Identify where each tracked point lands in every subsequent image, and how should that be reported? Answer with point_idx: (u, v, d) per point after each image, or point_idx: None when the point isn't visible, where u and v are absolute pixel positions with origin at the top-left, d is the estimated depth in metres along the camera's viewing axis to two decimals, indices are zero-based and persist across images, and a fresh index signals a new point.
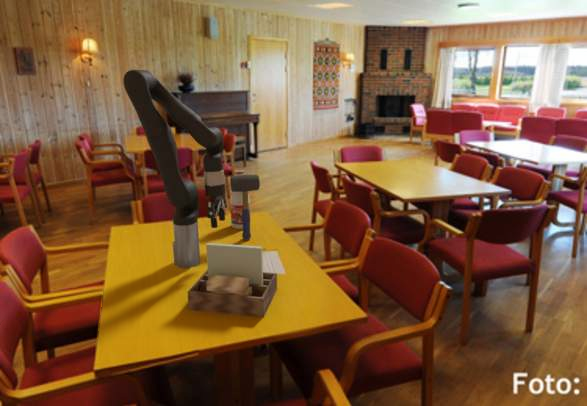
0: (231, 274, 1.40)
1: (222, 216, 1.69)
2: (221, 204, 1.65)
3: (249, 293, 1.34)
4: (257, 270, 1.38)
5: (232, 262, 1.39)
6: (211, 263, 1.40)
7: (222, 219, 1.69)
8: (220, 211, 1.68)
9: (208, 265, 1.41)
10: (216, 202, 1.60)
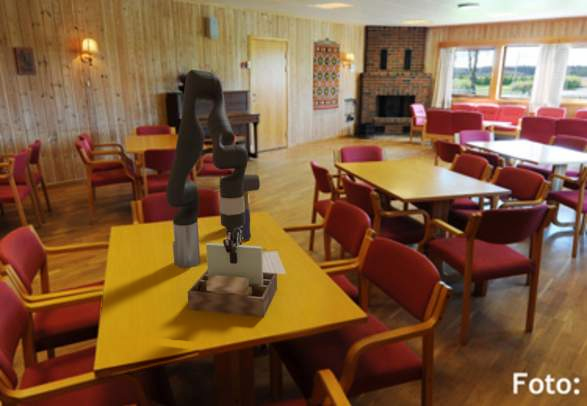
0: (231, 274, 1.40)
1: None
2: (237, 237, 1.38)
3: (249, 293, 1.34)
4: (257, 270, 1.38)
5: None
6: (211, 263, 1.40)
7: None
8: None
9: (208, 265, 1.41)
10: (234, 237, 1.34)
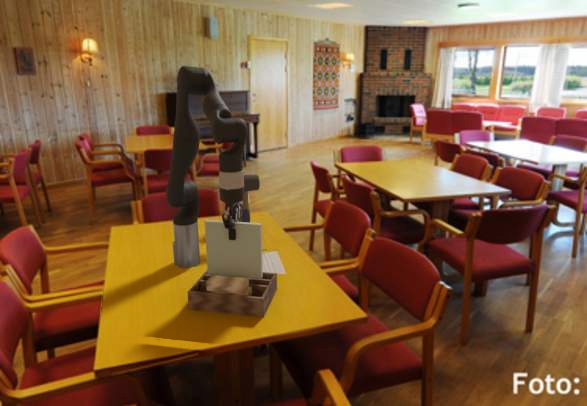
0: (230, 251, 1.38)
1: None
2: (236, 213, 1.36)
3: (249, 293, 1.34)
4: (256, 247, 1.36)
5: None
6: (210, 240, 1.38)
7: None
8: None
9: (206, 242, 1.39)
10: (233, 212, 1.32)
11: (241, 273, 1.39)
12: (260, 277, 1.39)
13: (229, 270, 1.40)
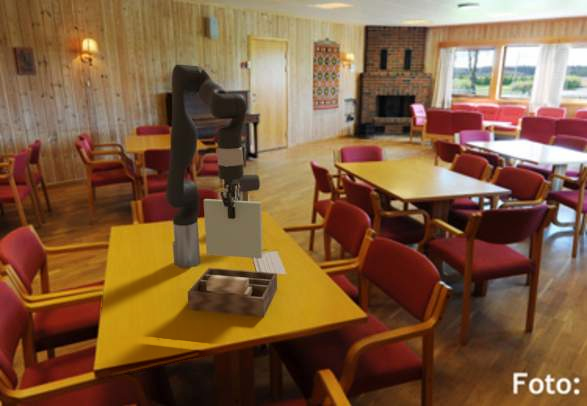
0: (229, 231, 1.36)
1: None
2: (236, 191, 1.34)
3: (249, 293, 1.34)
4: (256, 226, 1.34)
5: None
6: (209, 220, 1.36)
7: None
8: None
9: (205, 222, 1.37)
10: (232, 190, 1.30)
11: (241, 253, 1.38)
12: (260, 257, 1.37)
13: (228, 250, 1.38)
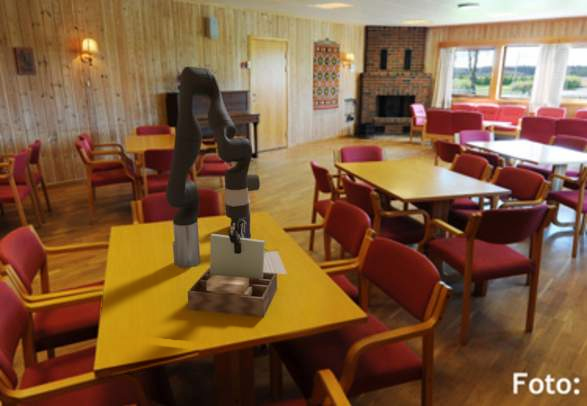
0: (233, 265, 1.45)
1: None
2: (242, 228, 1.42)
3: (249, 293, 1.34)
4: (258, 263, 1.43)
5: (235, 254, 1.43)
6: (214, 253, 1.45)
7: None
8: None
9: (211, 255, 1.45)
10: (238, 227, 1.38)
11: None
12: None
13: None
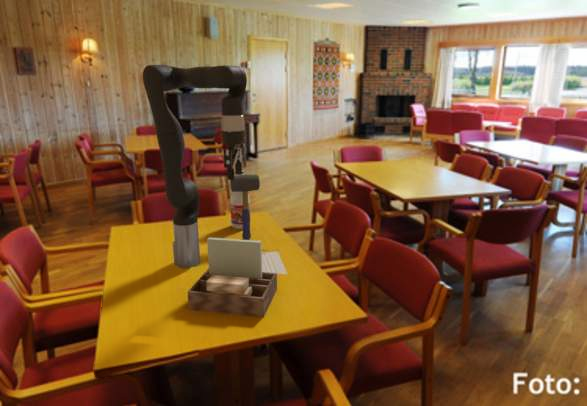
0: (231, 267, 1.45)
1: (239, 169, 1.52)
2: (239, 155, 1.48)
3: (249, 293, 1.34)
4: (256, 264, 1.43)
5: (232, 256, 1.44)
6: (212, 257, 1.45)
7: (239, 173, 1.52)
8: (237, 163, 1.51)
9: (209, 259, 1.46)
10: (234, 151, 1.43)
11: None
12: None
13: None
